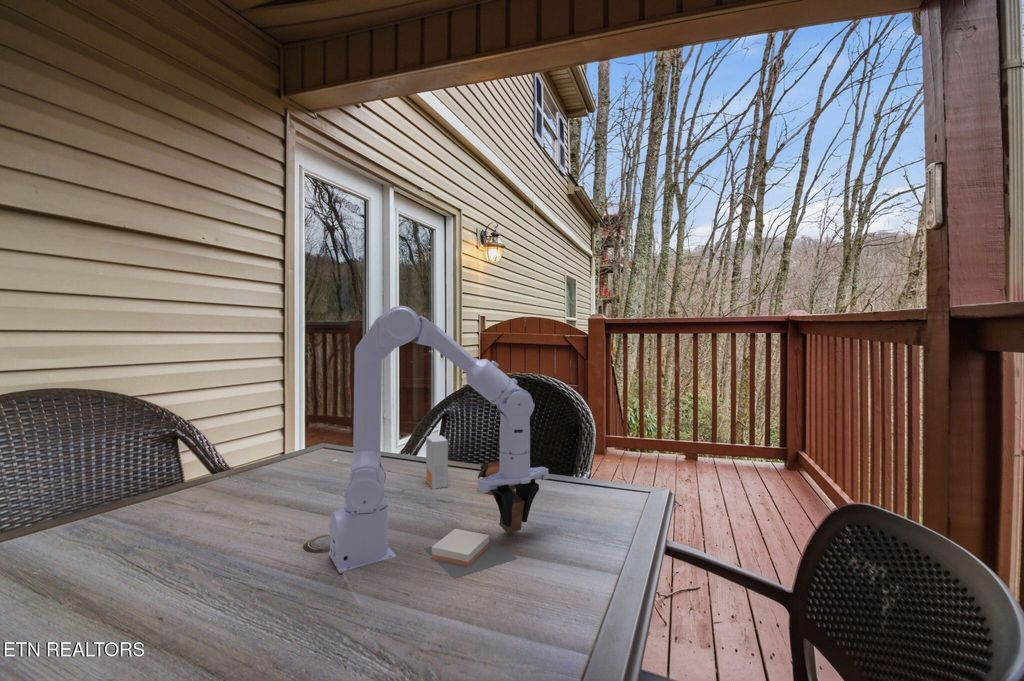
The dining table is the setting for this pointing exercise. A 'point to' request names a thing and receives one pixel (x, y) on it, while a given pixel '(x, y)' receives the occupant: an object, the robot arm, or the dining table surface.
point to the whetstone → (460, 547)
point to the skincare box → (437, 461)
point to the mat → (478, 560)
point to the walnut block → (515, 515)
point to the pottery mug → (491, 473)
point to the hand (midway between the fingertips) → (514, 522)
